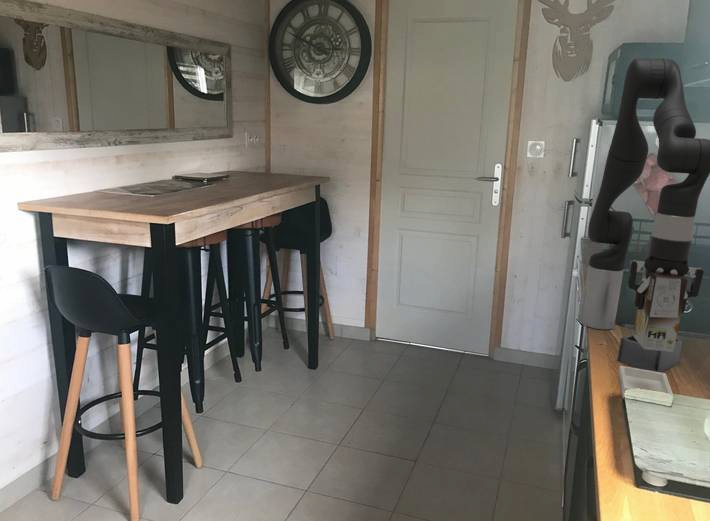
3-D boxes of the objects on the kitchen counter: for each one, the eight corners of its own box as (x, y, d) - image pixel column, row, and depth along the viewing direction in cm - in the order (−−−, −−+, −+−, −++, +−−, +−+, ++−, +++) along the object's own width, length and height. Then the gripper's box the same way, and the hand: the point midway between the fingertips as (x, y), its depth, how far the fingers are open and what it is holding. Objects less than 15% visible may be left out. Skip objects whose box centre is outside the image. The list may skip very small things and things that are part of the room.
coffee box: (675, 353, 127) (689, 279, 123) (643, 349, 128) (656, 276, 124) (660, 337, 136) (673, 268, 132) (630, 334, 136) (642, 265, 132)
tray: (618, 375, 141) (620, 365, 141) (663, 383, 138) (665, 373, 138) (622, 398, 130) (624, 387, 129) (671, 407, 127) (673, 396, 126)
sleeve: (617, 361, 150) (621, 338, 148) (641, 350, 158) (645, 328, 156) (656, 375, 143) (660, 351, 141) (679, 363, 150) (683, 340, 149)
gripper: (706, 236, 127) (692, 311, 131) (632, 228, 131) (620, 301, 135) (714, 243, 120) (698, 322, 124) (635, 234, 124) (623, 311, 128)
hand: (657, 311), depth 130 cm, fingers closed on coffee box, 7 cm apart
